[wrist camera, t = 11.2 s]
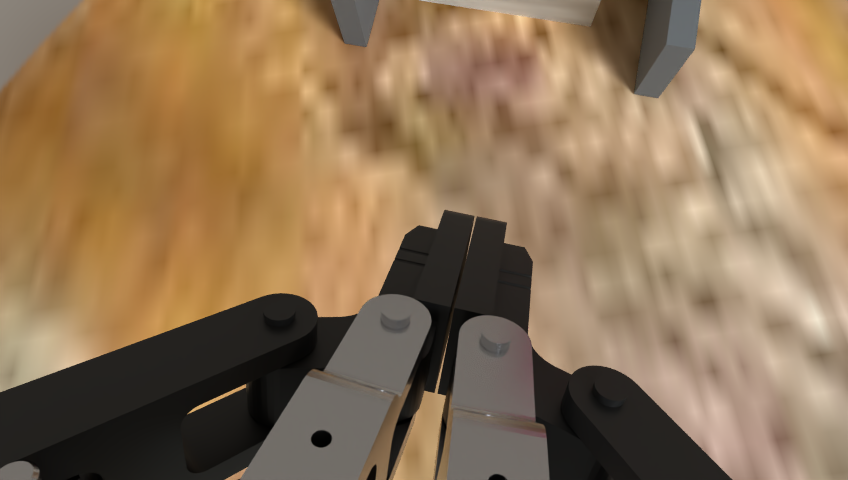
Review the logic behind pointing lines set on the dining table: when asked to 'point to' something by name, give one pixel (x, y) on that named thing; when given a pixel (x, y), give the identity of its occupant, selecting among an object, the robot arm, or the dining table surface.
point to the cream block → (536, 8)
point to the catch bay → (660, 52)
